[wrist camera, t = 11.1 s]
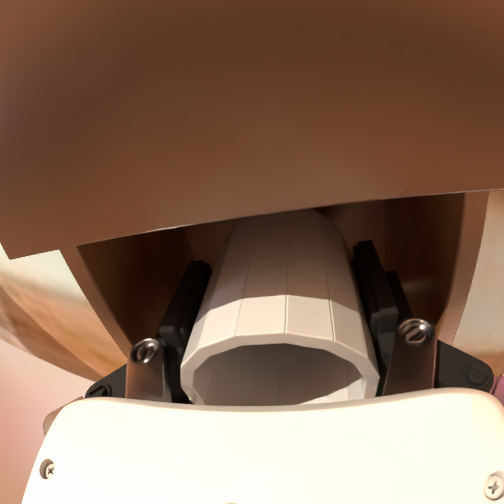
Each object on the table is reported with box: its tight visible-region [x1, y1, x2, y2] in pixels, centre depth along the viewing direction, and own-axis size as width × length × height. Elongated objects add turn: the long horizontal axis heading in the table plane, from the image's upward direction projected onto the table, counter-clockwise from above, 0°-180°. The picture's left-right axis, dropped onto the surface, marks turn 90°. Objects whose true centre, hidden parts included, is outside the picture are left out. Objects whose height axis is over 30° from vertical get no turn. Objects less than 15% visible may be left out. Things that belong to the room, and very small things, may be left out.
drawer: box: [59, 191, 489, 397], centre depth 14 cm, size 19×13×9 cm
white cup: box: [180, 209, 380, 406], centre depth 11 cm, size 6×6×6 cm
